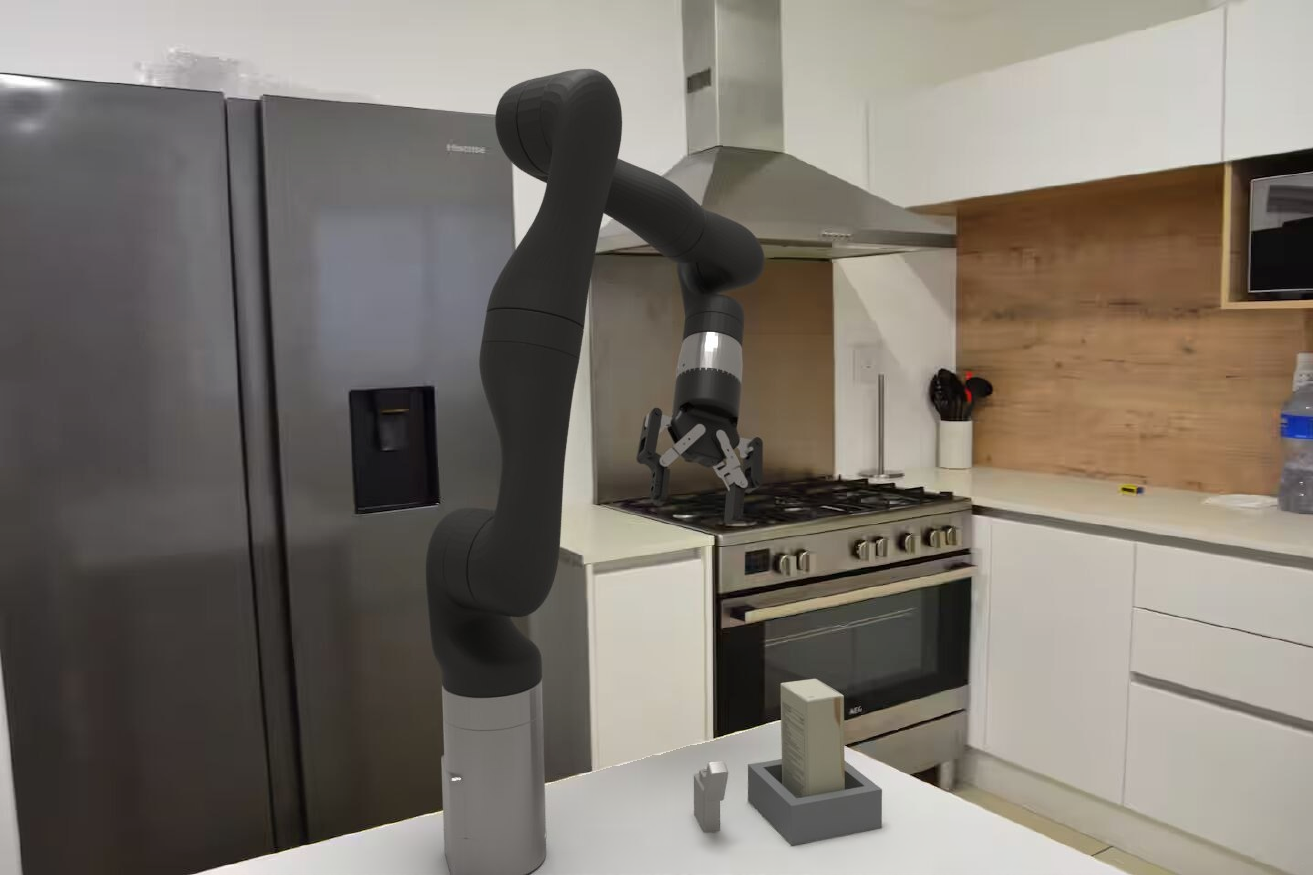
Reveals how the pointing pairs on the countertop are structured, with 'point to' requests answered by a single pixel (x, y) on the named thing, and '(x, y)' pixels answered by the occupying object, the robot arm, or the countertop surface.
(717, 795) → the lighter
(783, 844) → the countertop surface
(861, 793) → the holder
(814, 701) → the skincare box
